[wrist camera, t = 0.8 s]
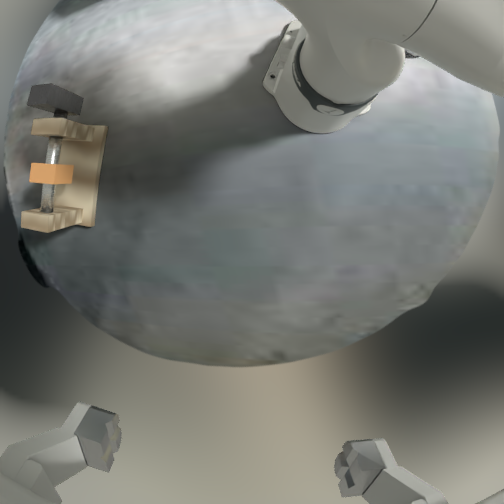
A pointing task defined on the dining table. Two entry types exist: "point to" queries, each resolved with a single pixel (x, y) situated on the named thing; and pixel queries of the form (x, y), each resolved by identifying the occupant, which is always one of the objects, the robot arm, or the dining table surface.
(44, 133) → the shaft stand
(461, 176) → the dining table surface
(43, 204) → the shaft
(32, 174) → the spacer
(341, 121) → the robot arm
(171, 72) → the dining table surface
